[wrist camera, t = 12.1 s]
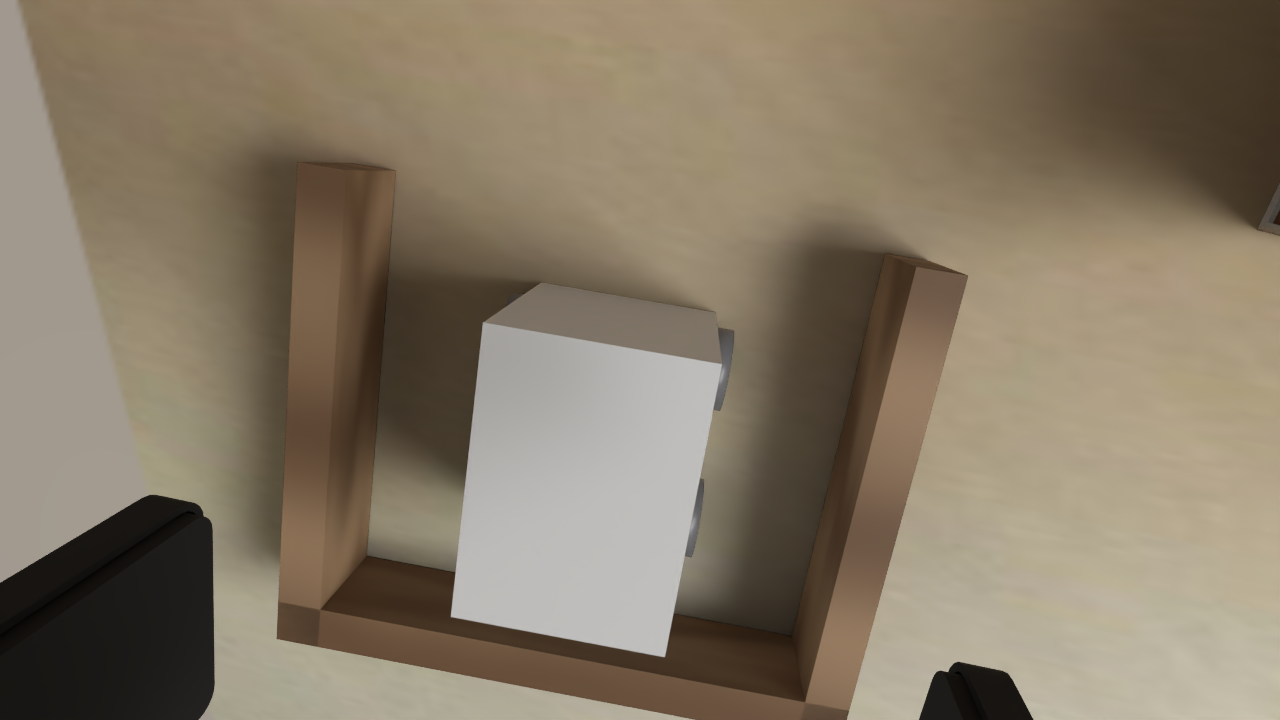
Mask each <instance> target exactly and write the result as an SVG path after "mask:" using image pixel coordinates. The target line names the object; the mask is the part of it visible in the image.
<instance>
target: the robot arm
mask: <svg viewBox="0 0 1280 720" xmlns="http://www.w3.org/2000/svg"><path fill="white" fill-rule="evenodd" d="M214 684H215V680H214V605H213V530H212V523H211V522H210V520H209V519H208V518H206V517H204V516H203V511H202V509H201V507H200V506H199V505H197V504H195V503H192V502H187V501H183V500H178V499H173V498H168V497H163V496H159V495H149V496H146V497H144V498H141V499H140V500H138V501H137V502H135V503H133V504H131V505H130V506H128V507H126V508H125V509H123V510H121V511H120V512H118V513H116V514H115V515H113V516H111V517H110V518H108V519H106V520H105V521H103V522H101V523H100V524H98V525H97V526H95V527H93V528H92V529H90V530H88V531H87V532H85V533H83V534H81V535H80V536H78V537H76V538H75V539H73V540H71V541H70V542H68V543H66V544H65V545H63V546H61V547H60V548H58V549H56V550H54V551H53V552H51V553H50V554H48V555H46V556H45V557H43V558H41V559H39V560H38V561H36V562H35V563H33V564H31V565H29V566H28V567H26V568H24V569H23V570H21V571H19V572H18V573H16V574H14V575H13V576H11V577H9V578H8V579H6V580H4V581H3V582H1V583H0V720H198V719H199V718H200V717H201V716H202V715H203V713H204V712H205V710H206V709H207V707H208V705H209V703H210V701H211V698H212V695H213V692H214ZM919 720H1033V718H1032V716H1031V714H1030V712H1029V711H1028V709H1027V707H1026V705H1025V703H1024V701H1023V699H1022V697H1021V695H1020V693H1019V691H1018V690H1017V688H1016V686H1015V684H1014V682H1013V680H1012V679H1011V677H1010V676H1009V674H1008V673H1006V672H1004V671H1000V670H995V669H990V668H986V667H981V666H976V665H971V664H966V663H962V662H956V663H954V664H953V665H952V666H951V667H950V669H949V672H944V671H938V672H937V673H936V674H935V675H934V677H933V679H932V682H931V685H930V688H929V691H928V694H927V697H926V700H925V703H924V706H923V709H922V712H921V715H920V718H919Z"/></svg>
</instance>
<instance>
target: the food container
mask: <svg viewBox="0 0 1280 720" xmlns="http://www.w3.org/2000/svg"><path fill="white" fill-rule="evenodd" d="M1257 230H1260V231H1264V232H1268V233H1272V234H1275V235H1279V236H1280V183H1279V185H1278V187H1277V190H1276V192H1275V194H1274V196H1273V198H1272V200H1271V202H1270V204H1269V206H1268V208H1267V210H1266V212H1265V214H1264V217H1263V219H1262V221H1261V223H1260V225H1259V227H1258V229H1257Z"/></svg>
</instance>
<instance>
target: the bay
mask: <svg viewBox="0 0 1280 720" xmlns="http://www.w3.org/2000/svg"><path fill="white" fill-rule="evenodd" d="M395 176H396V171H394V170H388V169H382V168H376V167H370V166H364V165H358V164H345V163H312V162H297V182H296V205H295V229H294V252H293V275H292V298H291V321H290V344H289V367H288V391H287V414H286V437H285V460H284V483H283V506H282V530H281V553H280V576H279V599H278V622H277V639H280V640H285V641H290V642H296V643H301V644H306V645H311V646H316V647H322V648H327V649H332V650H337V651H342V652H348V653H353V654H358V655H363V656H368V657H373V658H379V659H384V660H389V661H394V662H399V663H405V664H410V665H415V666H420V667H425V668H430V669H436V670H441V671H446V672H451V673H456V674H462V675H467V676H472V677H477V678H482V679H487V680H493V681H498V682H503V683H508V684H513V685H519V686H524V687H529V688H534V689H539V690H545V691H550V692H555V693H560V694H565V695H570V696H576V697H581V698H586V699H591V700H596V701H602V702H607V703H612V704H617V705H622V706H627V707H633V708H638V709H643V710H648V711H653V712H659V713H664V714H669V715H674V716H679V717H684V718H690V719H695V720H847V716H848V713H849V709H850V705H851V702H852V698H853V694H854V691H855V687H856V683H857V680H858V676H859V673H860V669H861V665H862V662H863V658H864V654H865V651H866V647H867V643H868V640H869V636H870V632H871V629H872V625H873V621H874V618H875V614H876V610H877V607H878V603H879V600H880V596H881V592H882V589H883V585H884V581H885V578H886V574H887V570H888V567H889V563H890V559H891V556H892V552H893V548H894V545H895V541H896V538H897V534H898V530H899V527H900V523H901V519H902V516H903V512H904V508H905V505H906V501H907V497H908V494H909V490H910V486H911V483H912V479H913V475H914V472H915V468H916V465H917V461H918V457H919V454H920V450H921V446H922V443H923V439H924V435H925V432H926V428H927V424H928V421H929V417H930V413H931V410H932V406H933V403H934V399H935V395H936V392H937V388H938V384H939V381H940V377H941V373H942V370H943V366H944V362H945V359H946V355H947V351H948V348H949V344H950V340H951V337H952V333H953V330H954V326H955V322H956V319H957V315H958V311H959V308H960V304H961V300H962V297H963V293H964V289H965V286H966V282H967V278H968V275H965V274H962V273H960V272H957V271H954V270H952V269H949V268H946V267H944V266H941V265H939V264H936V263H933V262H931V261H926V260H920V259H914V258H908V257H902V256H897V255H891V254H885V256H884V261H883V265H882V269H881V273H880V277H879V281H878V285H877V289H876V293H875V297H874V302H873V306H872V310H871V314H870V318H869V322H868V326H867V330H866V334H865V338H864V343H863V347H862V351H861V355H860V359H859V363H858V367H857V371H856V375H855V379H854V384H853V388H852V392H851V396H850V400H849V404H848V408H847V412H846V416H845V420H844V425H843V429H842V433H841V437H840V441H839V445H838V449H837V453H836V457H835V461H834V466H833V470H832V474H831V478H830V482H829V486H828V490H827V494H826V498H825V502H824V507H823V511H822V515H821V519H820V523H819V527H818V531H817V535H816V539H815V543H814V548H813V552H812V556H811V560H810V564H809V568H808V572H807V576H806V580H805V584H804V589H803V593H802V597H801V601H800V605H799V609H798V613H797V617H796V621H795V625H794V630H793V634H792V636H788V635H783V634H777V633H772V632H767V631H761V630H756V629H751V628H745V627H740V626H735V625H729V624H724V623H719V622H713V621H708V620H703V619H697V618H692V617H687V616H681V615H676V614H673V618H672V624H671V629H670V634H669V639H668V644H667V649H666V654H665V657H661V656H655V655H650V654H645V653H639V652H634V651H629V650H623V649H618V648H613V647H608V646H602V645H597V644H592V643H586V642H581V641H576V640H571V639H565V638H560V637H555V636H549V635H544V634H539V633H534V632H528V631H523V630H518V629H512V628H507V627H502V626H496V625H491V624H486V623H481V622H475V621H470V620H465V619H459V618H454V617H451V610H452V601H453V592H454V583H455V574H456V573H453V572H447V571H442V570H437V569H432V568H426V567H421V566H416V565H410V564H405V563H400V562H394V561H389V560H384V559H378V558H373V557H368V556H367V545H368V532H369V519H370V505H371V492H372V479H373V466H374V453H375V439H376V426H377V413H378V400H379V387H380V374H381V360H382V347H383V334H384V321H385V308H386V294H387V281H388V268H389V255H390V242H391V228H392V215H393V202H394V189H395Z"/></svg>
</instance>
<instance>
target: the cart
mask: <svg viewBox="0 0 1280 720" xmlns="http://www.w3.org/2000/svg"><path fill="white" fill-rule="evenodd" d="M733 344H734V330H728V329H723V328H718V327H717V319H716V312H710V311H704V310H698V309H692V308H687V307H681V306H675V305H669V304H663V303H658V302H652V301H646V300H640V299H634V298H629V297H623V296H617V295H611V294H606V293H600V292H594V291H588V290H582V289H577V288H571V287H565V286H559V285H553V284H548V283H542V282H541V283H540V284H538V285H537V286H535V287H534V288H533V289H531V290H530V291H528V292H527V293H525V294H520V293H515V292H514V293H512V294H511V296H510V297H509V299H508V301H507V304H506V306H505V308H503V309H502V310H500V311H499V312H498V313H496V314H495V315H493V316H492V317H490V318H489V319H487V320H486V321H484V322H483V327H482V336H481V345H480V355H479V364H478V373H477V382H476V391H475V400H474V409H473V418H472V428H471V437H470V446H469V455H468V464H467V473H466V482H465V491H464V501H463V510H462V519H461V528H460V537H459V546H458V555H457V564H456V574H455V583H454V592H453V601H452V610H451V617H454V618H459V619H465V620H470V621H475V622H481V623H486V624H491V625H496V626H502V627H507V628H512V629H518V630H523V631H528V632H534V633H539V634H544V635H549V636H555V637H560V638H565V639H571V640H576V641H581V642H586V643H592V644H597V645H602V646H608V647H613V648H618V649H623V650H629V651H634V652H639V653H645V654H650V655H655V656H661V657H665V654H666V649H667V644H668V639H669V634H670V629H671V624H672V618H673V613H674V608H675V603H676V598H677V593H678V588H679V583H680V577H681V572H682V567H683V562H684V557H685V556H687V557H692V555H693V551H694V548H695V543H696V539H697V534H698V528H699V522H700V516H701V509H702V502H703V493H704V479H700V475H701V470H702V465H703V460H704V454H705V449H706V444H707V439H708V434H709V429H710V424H711V419H712V413H713V410H717V411H720V409H721V407H722V404H723V400H724V396H725V392H726V387H727V382H728V377H729V372H730V366H731V360H732V352H733Z"/></svg>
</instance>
